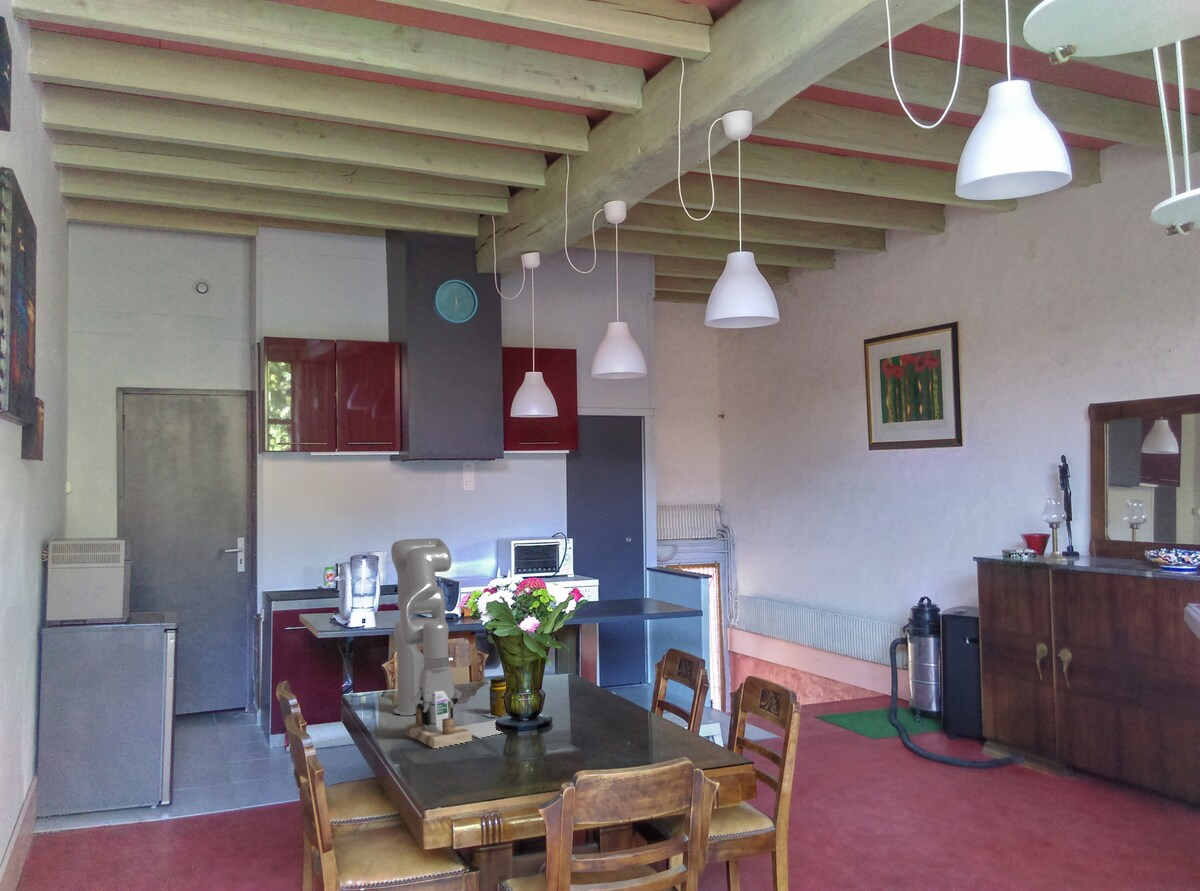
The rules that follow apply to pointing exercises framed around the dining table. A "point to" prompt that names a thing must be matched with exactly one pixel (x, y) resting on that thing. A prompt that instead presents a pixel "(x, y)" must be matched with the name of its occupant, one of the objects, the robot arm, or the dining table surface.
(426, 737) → the wooden frame with peg
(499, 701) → the condiment
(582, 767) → the dining table surface
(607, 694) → the dining table surface
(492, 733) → the grey mat
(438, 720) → the syrup box
